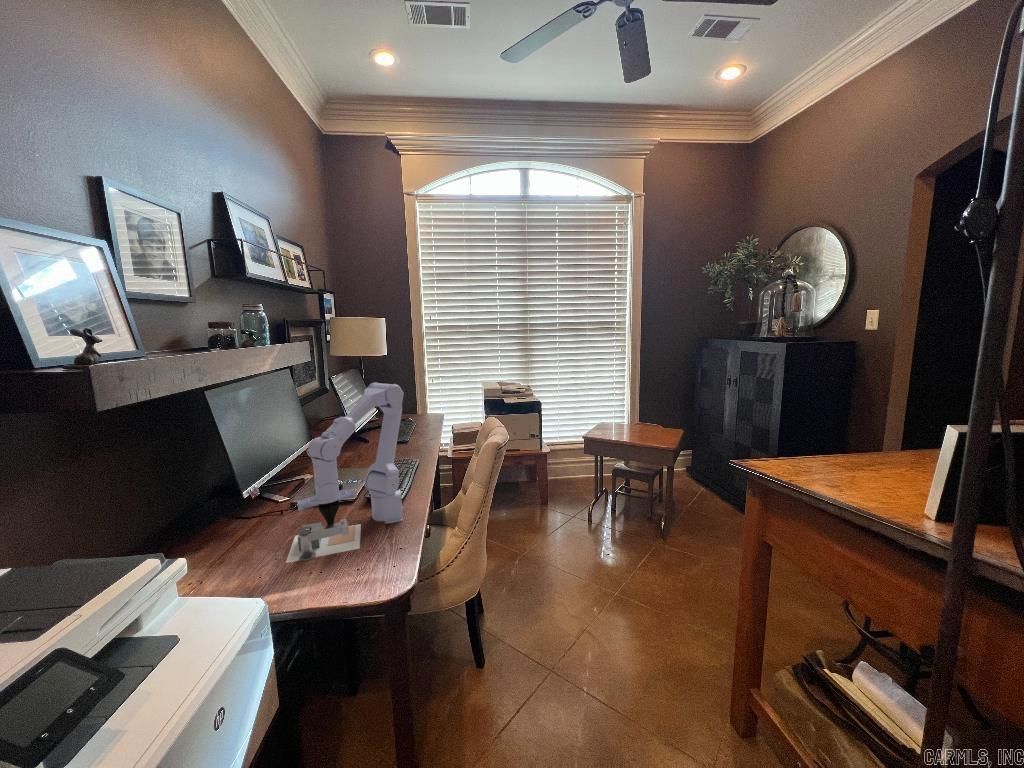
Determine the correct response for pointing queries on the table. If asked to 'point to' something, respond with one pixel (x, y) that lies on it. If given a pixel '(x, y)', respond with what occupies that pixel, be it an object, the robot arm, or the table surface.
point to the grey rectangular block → (316, 542)
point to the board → (329, 545)
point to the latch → (320, 535)
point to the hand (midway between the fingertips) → (330, 527)
